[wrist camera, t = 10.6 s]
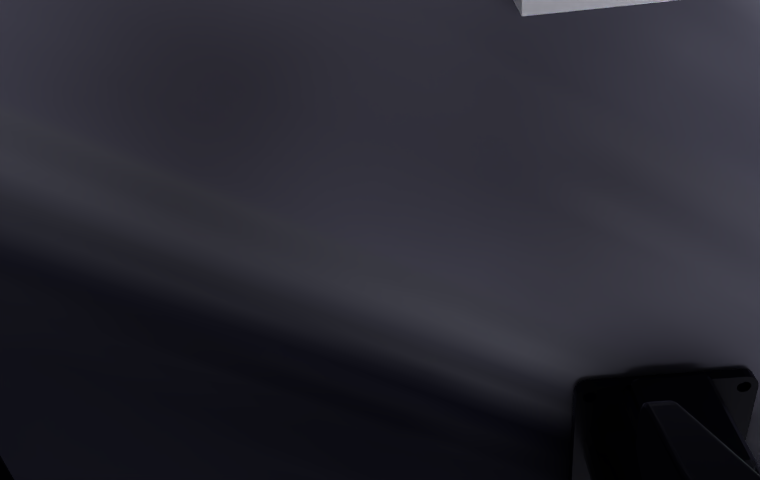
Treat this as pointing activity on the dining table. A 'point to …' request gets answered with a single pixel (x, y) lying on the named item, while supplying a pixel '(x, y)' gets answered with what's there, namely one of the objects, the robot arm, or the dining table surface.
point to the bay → (571, 5)
